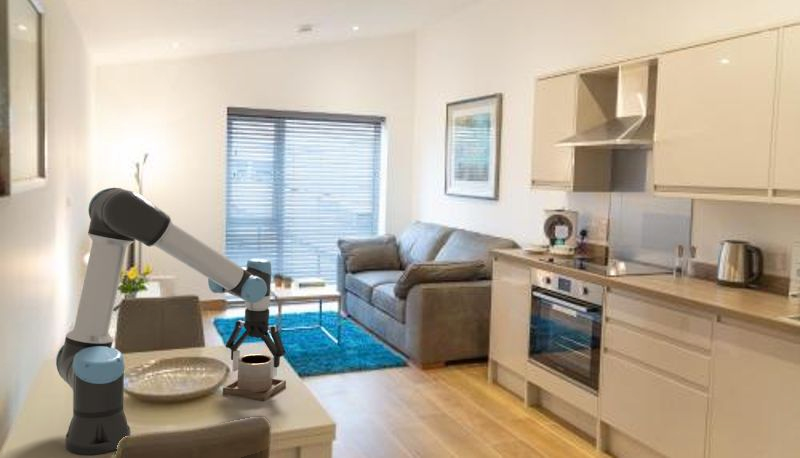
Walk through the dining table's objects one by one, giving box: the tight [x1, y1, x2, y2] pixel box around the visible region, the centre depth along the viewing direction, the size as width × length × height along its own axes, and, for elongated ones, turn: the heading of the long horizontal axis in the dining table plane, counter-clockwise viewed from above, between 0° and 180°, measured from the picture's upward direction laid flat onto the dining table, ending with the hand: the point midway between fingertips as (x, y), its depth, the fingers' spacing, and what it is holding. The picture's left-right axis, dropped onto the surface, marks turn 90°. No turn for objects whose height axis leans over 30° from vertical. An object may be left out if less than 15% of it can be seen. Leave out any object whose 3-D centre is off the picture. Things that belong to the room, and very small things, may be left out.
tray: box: [222, 377, 287, 402], centre depth 210 cm, size 14×14×2 cm
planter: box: [237, 353, 273, 393], centre depth 209 cm, size 11×11×10 cm
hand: (254, 373), depth 209 cm, fingers open, 13 cm apart
